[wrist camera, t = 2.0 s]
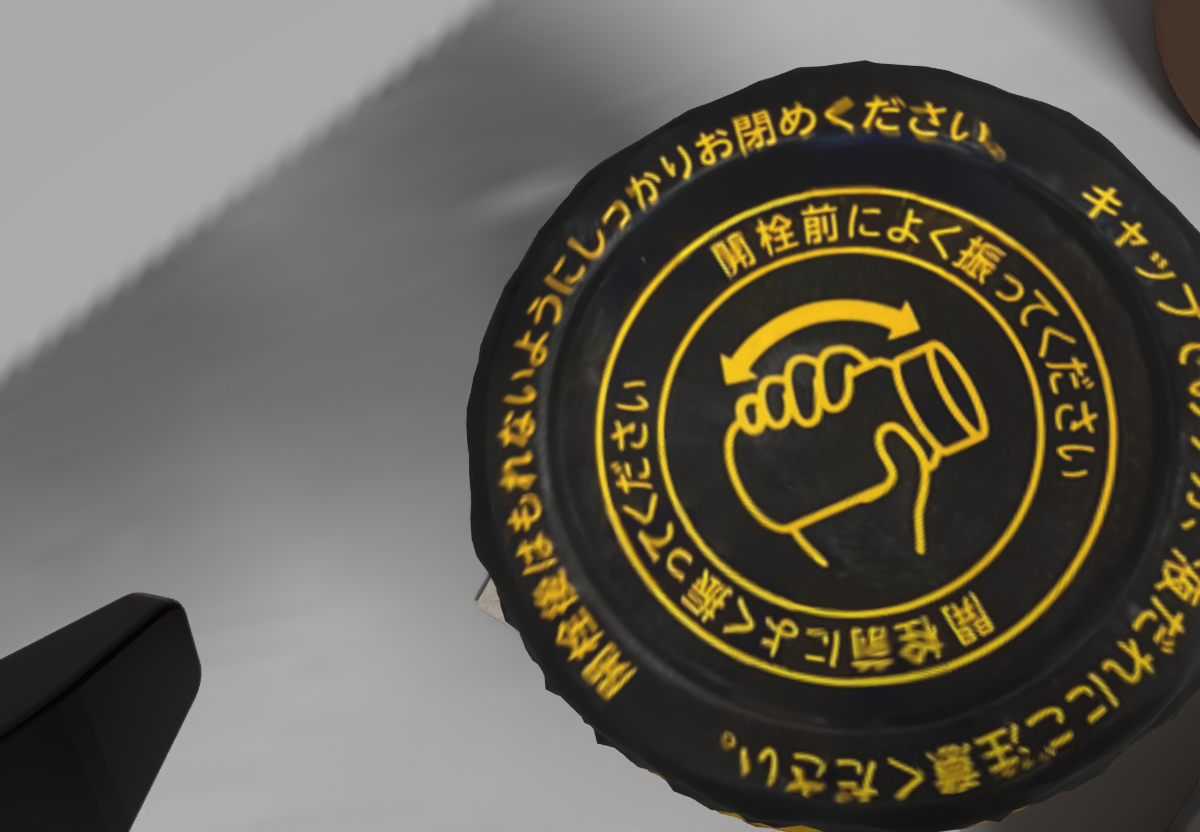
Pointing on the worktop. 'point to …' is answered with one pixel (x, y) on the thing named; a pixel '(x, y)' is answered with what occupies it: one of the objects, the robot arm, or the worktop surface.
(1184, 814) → the grey shallow square tray
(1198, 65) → the mug
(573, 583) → the condiment
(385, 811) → the worktop surface
